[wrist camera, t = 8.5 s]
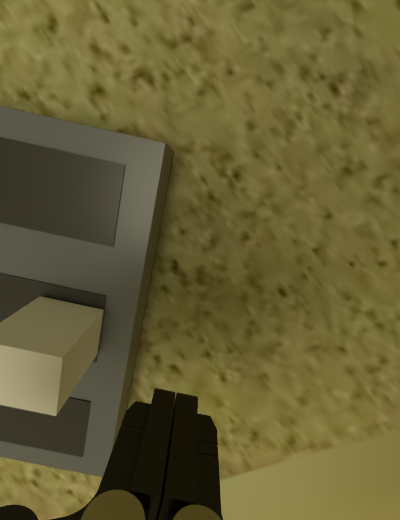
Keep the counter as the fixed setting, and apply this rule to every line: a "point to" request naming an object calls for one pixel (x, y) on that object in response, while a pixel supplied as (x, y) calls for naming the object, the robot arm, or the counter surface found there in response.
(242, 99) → the counter surface
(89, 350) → the block
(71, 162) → the breaker panel
